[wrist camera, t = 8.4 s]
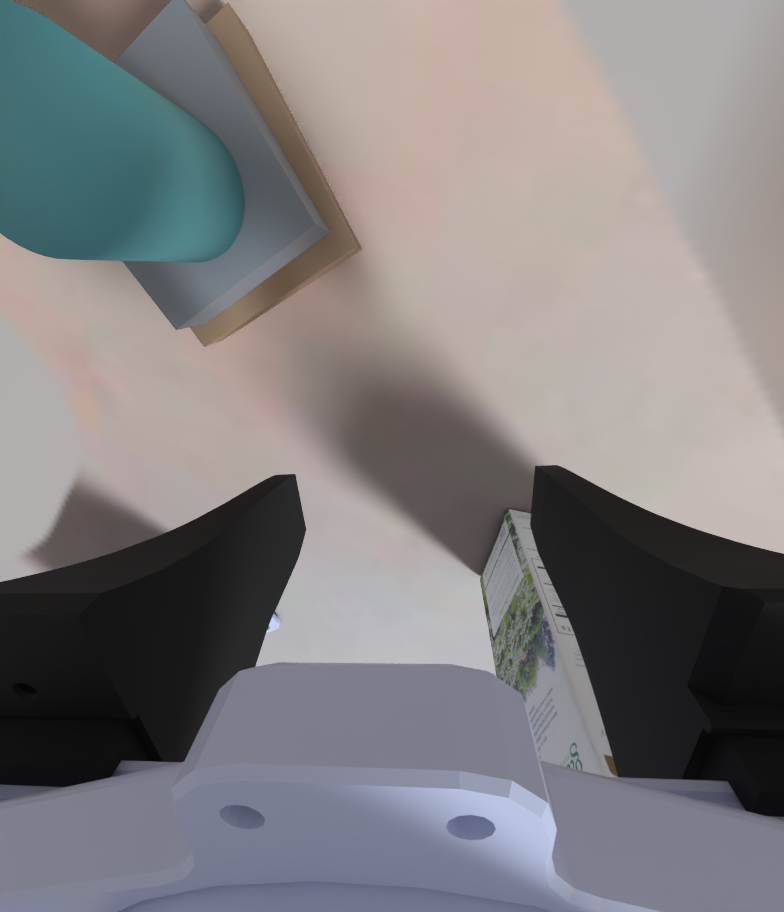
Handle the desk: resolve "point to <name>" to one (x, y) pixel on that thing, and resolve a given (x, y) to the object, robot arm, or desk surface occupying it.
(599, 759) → the syrup box
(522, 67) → the desk surface
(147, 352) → the desk surface
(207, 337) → the walnut slab
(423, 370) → the desk surface
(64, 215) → the teal capsule
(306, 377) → the desk surface
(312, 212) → the grey slab
